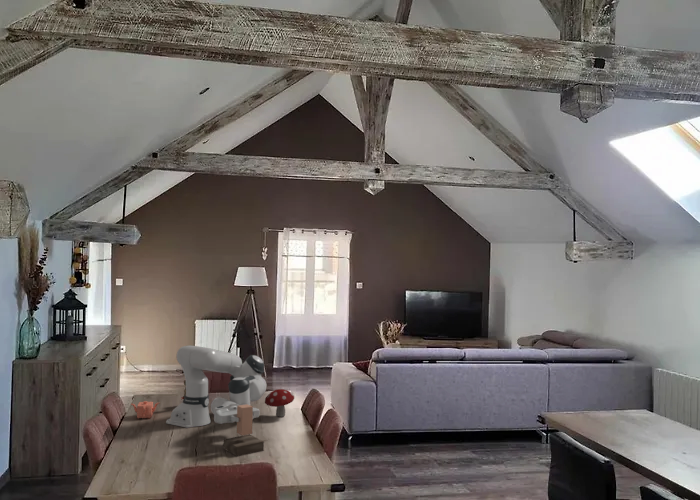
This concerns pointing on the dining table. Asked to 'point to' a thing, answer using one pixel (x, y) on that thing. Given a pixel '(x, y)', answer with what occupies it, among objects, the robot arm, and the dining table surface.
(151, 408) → the teapot
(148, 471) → the dining table surface
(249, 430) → the terracotta block
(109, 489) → the dining table surface
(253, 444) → the walnut plinth
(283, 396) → the decorative mushroom
